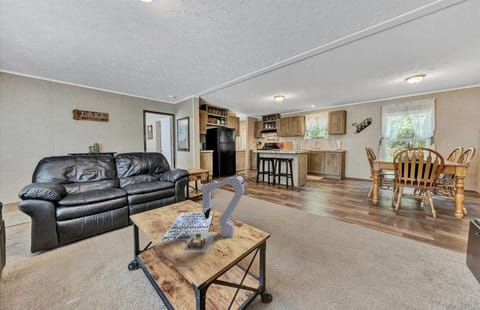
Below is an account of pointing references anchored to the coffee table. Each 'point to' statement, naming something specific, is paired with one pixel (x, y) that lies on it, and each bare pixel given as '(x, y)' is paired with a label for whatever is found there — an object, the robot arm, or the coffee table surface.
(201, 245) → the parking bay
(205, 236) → the dock board
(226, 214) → the robot arm
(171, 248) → the coffee table surface
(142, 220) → the coffee table surface
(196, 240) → the cart
